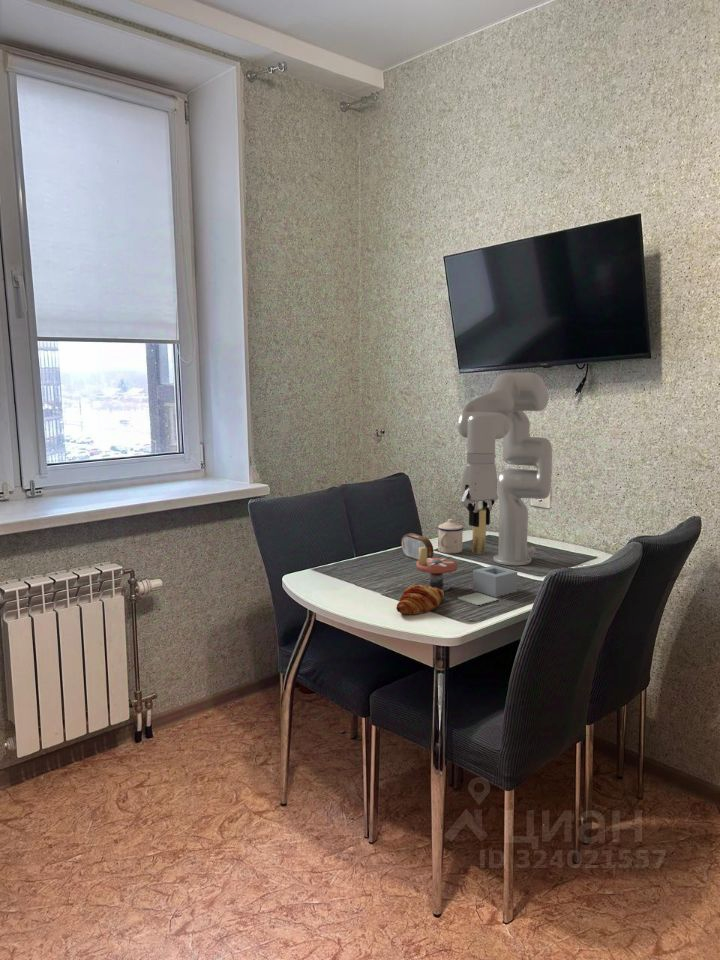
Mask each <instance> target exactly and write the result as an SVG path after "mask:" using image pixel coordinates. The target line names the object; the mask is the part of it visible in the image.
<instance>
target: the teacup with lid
mask: <svg viewBox="0 0 720 960" xmlns="http://www.w3.org/2000/svg"><path fill="white" fill-rule="evenodd" d="M437 529H438V536H437V538H438V539H437V540H438V541H437V543H438V546H437V549H438V551H439V552H440V553H443V554H459V553H460V554H461V553H462V552H463V533H464V532H463V530H464V526H463V525H462V524H458V523H457V522H456V521H454V519H452V518H448V519H447V521H445V522H444V523H440V524H439V525H438V526H437Z"/></svg>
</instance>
